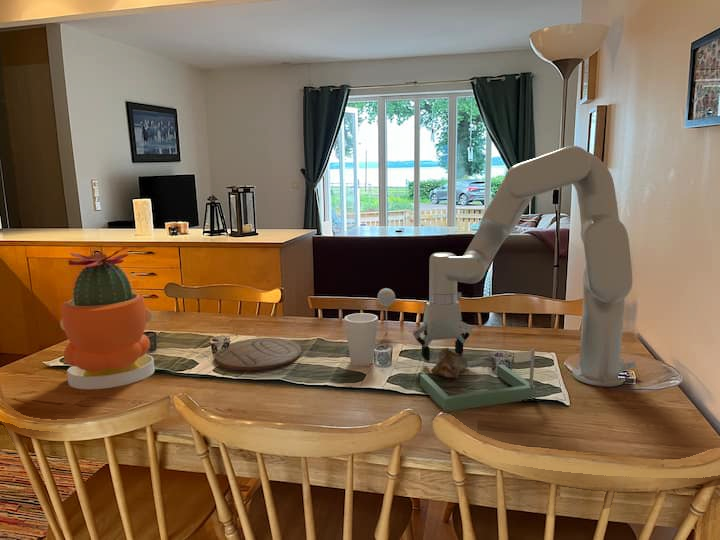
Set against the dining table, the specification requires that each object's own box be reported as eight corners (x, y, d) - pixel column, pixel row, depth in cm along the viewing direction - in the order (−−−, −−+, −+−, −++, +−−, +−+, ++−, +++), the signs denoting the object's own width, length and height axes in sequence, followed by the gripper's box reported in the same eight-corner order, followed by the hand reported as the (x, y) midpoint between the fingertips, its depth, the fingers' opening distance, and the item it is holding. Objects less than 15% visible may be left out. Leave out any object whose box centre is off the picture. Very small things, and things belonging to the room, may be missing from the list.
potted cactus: (71, 371, 152) (56, 247, 146) (156, 360, 160) (145, 241, 153) (60, 401, 132) (41, 259, 126) (157, 387, 140) (144, 252, 133)
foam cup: (375, 368, 150) (374, 323, 147) (342, 366, 152) (341, 321, 149) (380, 356, 159) (380, 313, 157) (349, 355, 161) (348, 312, 158)
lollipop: (375, 330, 184) (374, 287, 181) (391, 328, 186) (391, 285, 183) (381, 335, 178) (380, 291, 175) (398, 333, 180) (397, 289, 177)
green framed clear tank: (502, 375, 144) (503, 331, 141) (535, 398, 129) (537, 350, 127) (420, 385, 138) (420, 340, 136) (445, 411, 123) (445, 361, 121)
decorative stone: (469, 346, 152) (465, 371, 138) (469, 360, 153) (465, 387, 139) (435, 343, 154) (427, 368, 141) (435, 357, 156) (428, 383, 142)
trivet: (240, 380, 144) (239, 373, 144) (201, 356, 163) (200, 350, 163) (317, 358, 160) (317, 352, 160) (273, 338, 179) (273, 332, 179)
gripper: (466, 292, 155) (465, 350, 158) (408, 297, 151) (408, 356, 154) (478, 298, 148) (476, 358, 151) (418, 303, 143) (418, 365, 147)
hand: (442, 357), depth 152 cm, fingers open, 9 cm apart
